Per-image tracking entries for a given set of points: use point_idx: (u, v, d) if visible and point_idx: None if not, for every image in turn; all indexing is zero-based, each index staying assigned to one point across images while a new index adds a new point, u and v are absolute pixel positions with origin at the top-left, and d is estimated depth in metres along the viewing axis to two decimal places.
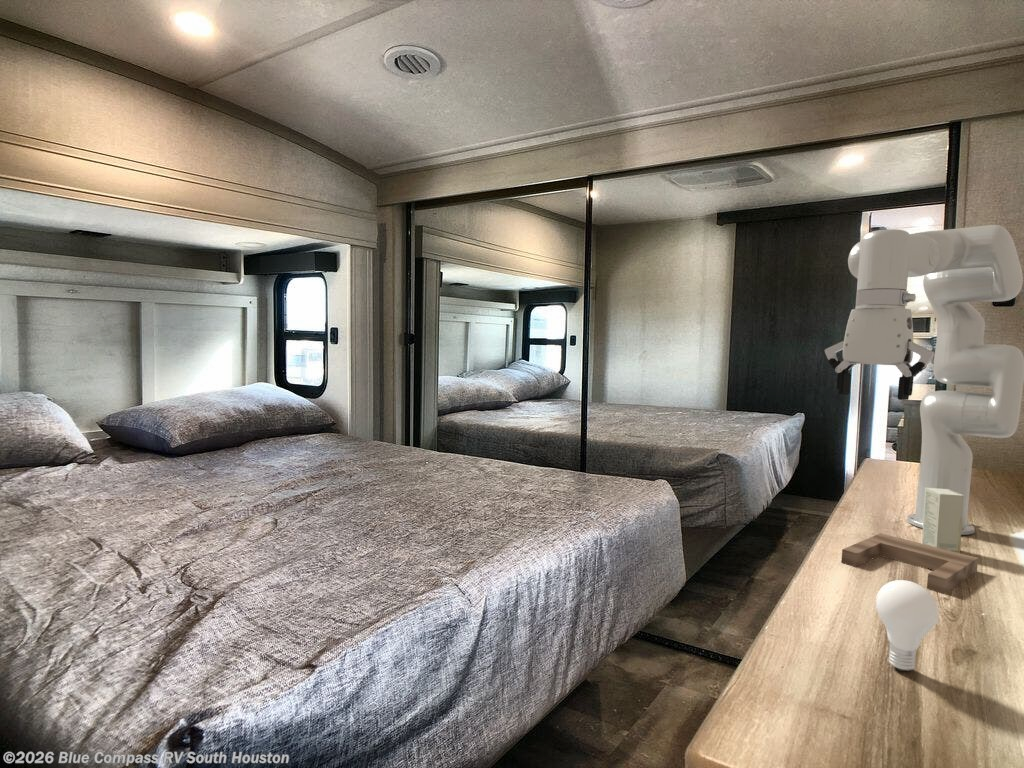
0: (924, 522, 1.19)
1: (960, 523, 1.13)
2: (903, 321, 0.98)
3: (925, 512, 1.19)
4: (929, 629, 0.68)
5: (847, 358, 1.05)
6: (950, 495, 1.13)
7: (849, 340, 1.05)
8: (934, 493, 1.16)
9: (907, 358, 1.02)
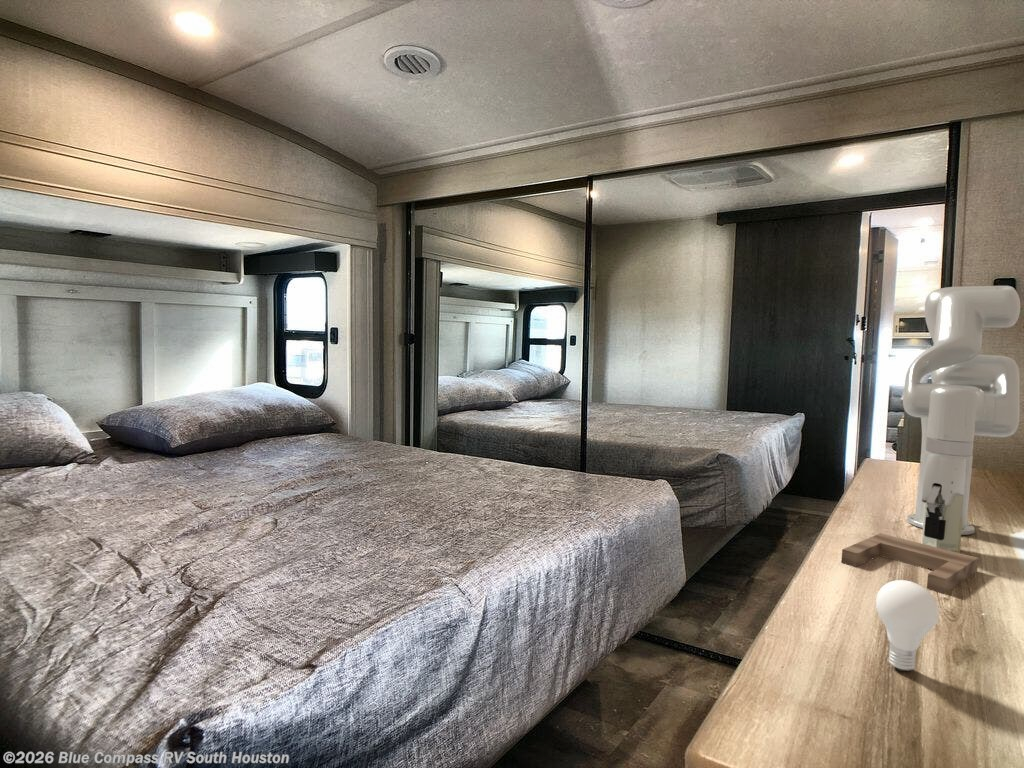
0: (924, 522, 1.19)
1: (960, 523, 1.13)
2: None
3: (925, 512, 1.19)
4: (929, 629, 0.68)
5: (949, 504, 1.12)
6: None
7: (952, 487, 1.12)
8: None
9: None
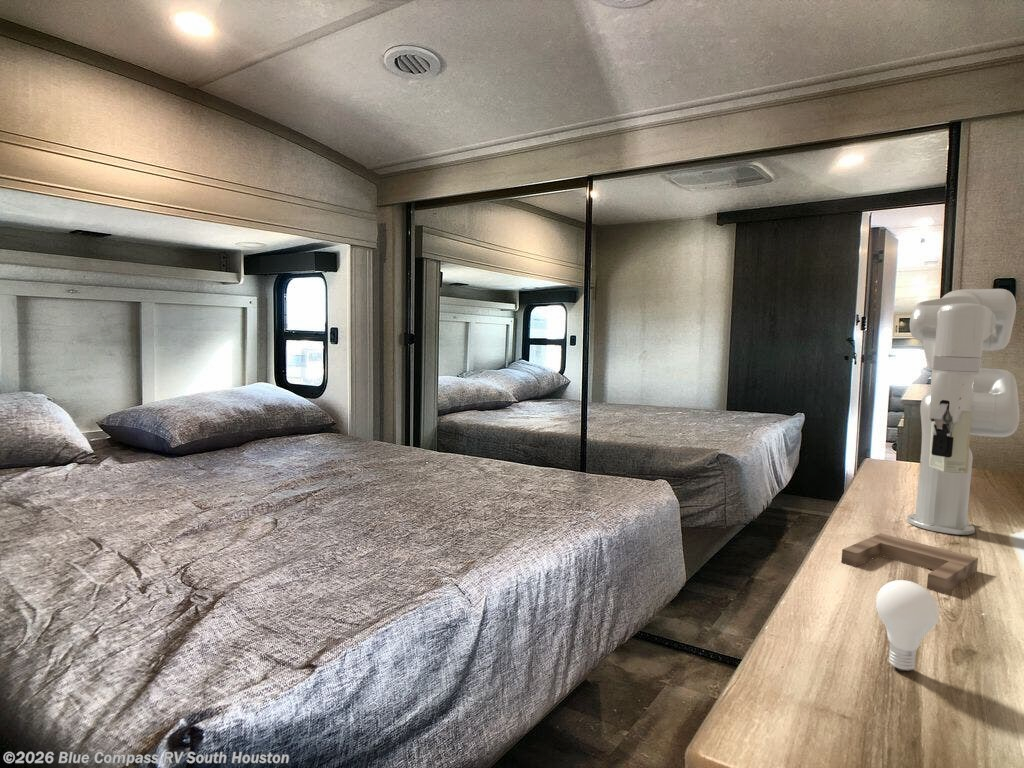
0: (931, 443, 1.18)
1: (968, 440, 1.12)
2: None
3: (932, 433, 1.18)
4: (929, 629, 0.68)
5: (957, 420, 1.11)
6: None
7: (960, 403, 1.11)
8: None
9: None
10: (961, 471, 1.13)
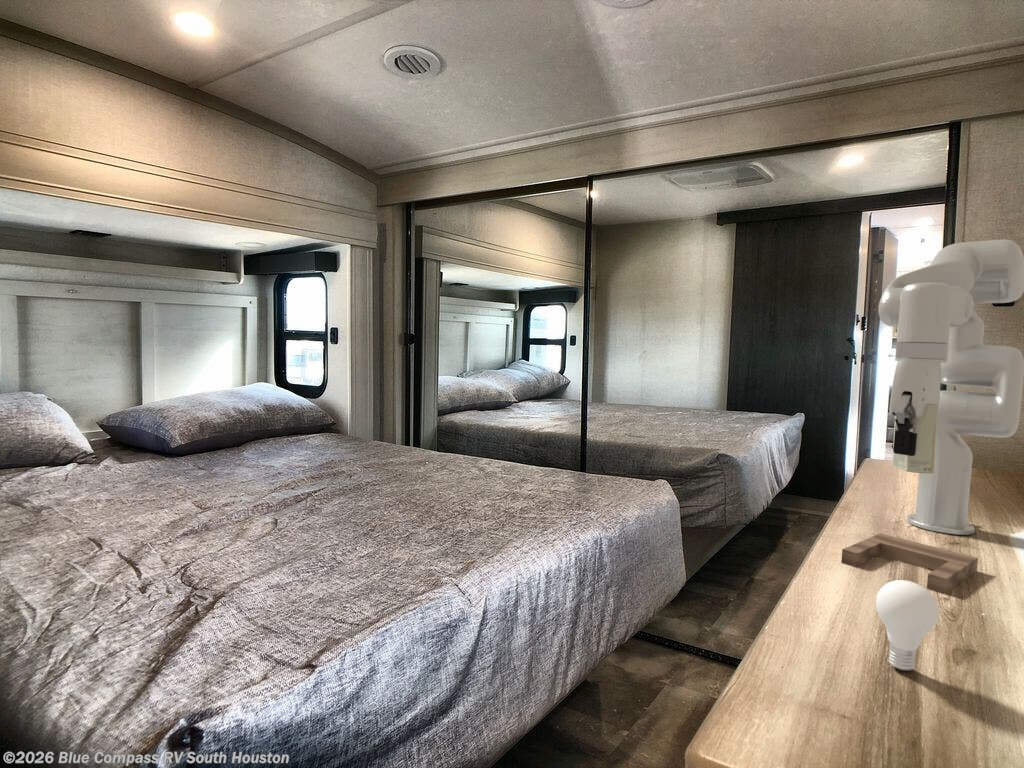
0: None
1: (934, 436, 0.99)
2: None
3: None
4: (929, 629, 0.68)
5: (921, 414, 0.98)
6: None
7: (924, 395, 0.98)
8: None
9: None
10: (926, 471, 1.00)
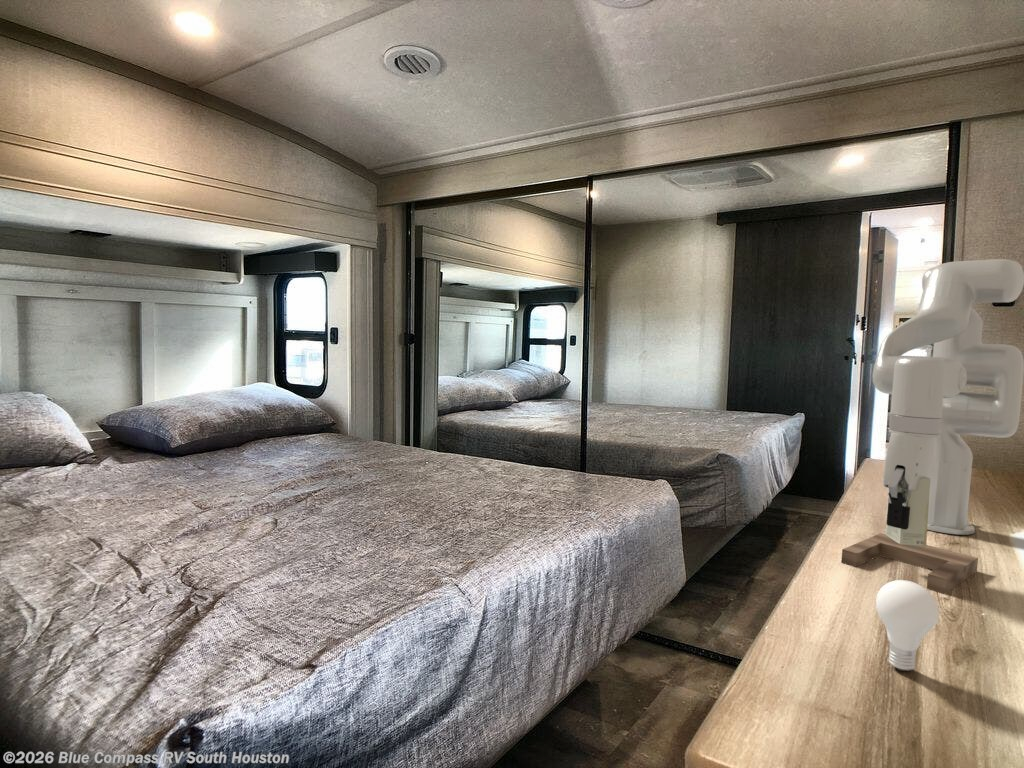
0: None
1: (926, 510, 1.00)
2: None
3: None
4: (929, 629, 0.68)
5: (914, 488, 0.99)
6: None
7: (917, 469, 0.99)
8: None
9: None
10: (919, 544, 1.00)
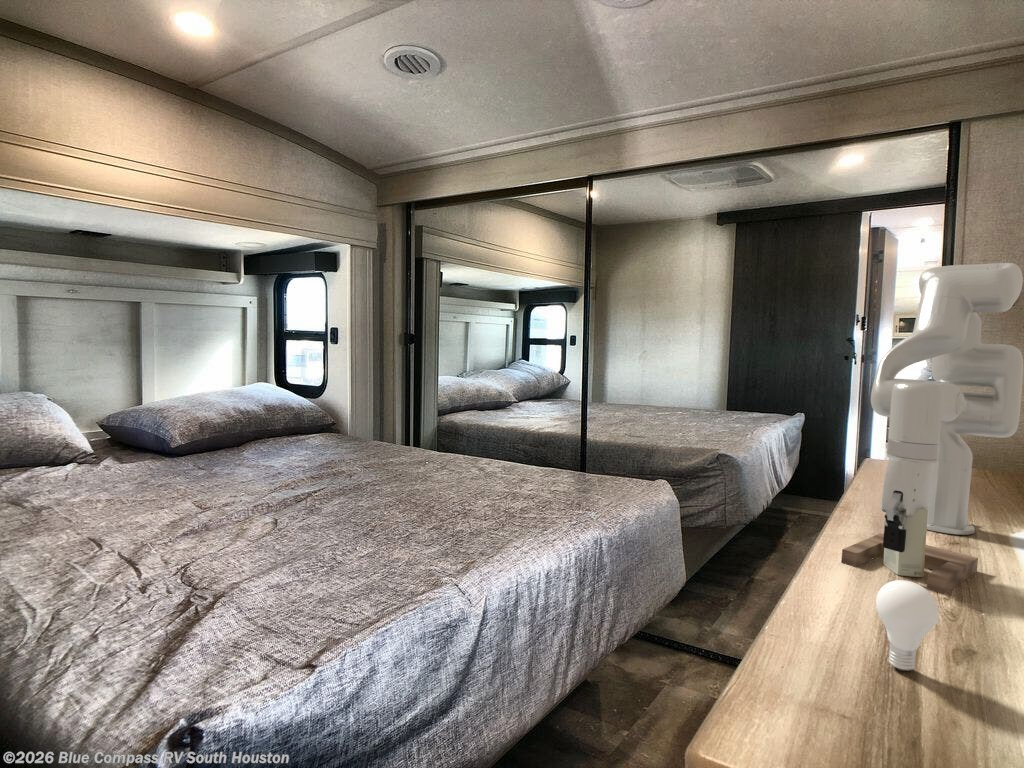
0: None
1: (924, 541, 1.01)
2: None
3: None
4: (929, 629, 0.68)
5: (912, 514, 0.99)
6: None
7: (915, 495, 0.99)
8: None
9: None
10: (917, 575, 1.01)
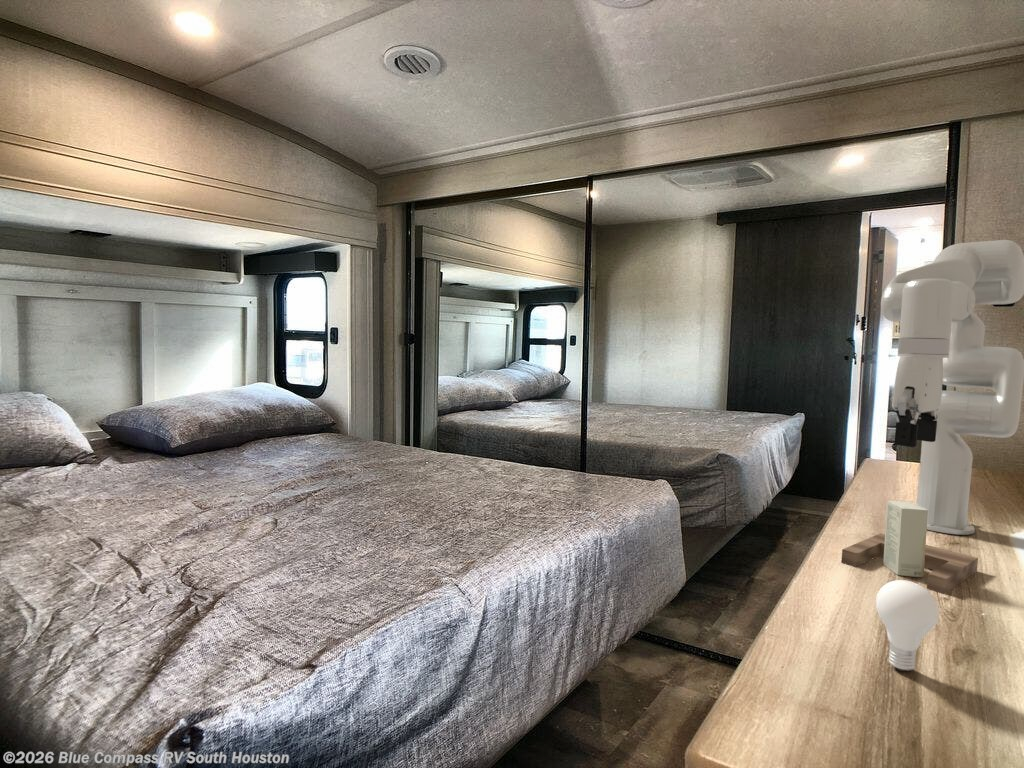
0: (886, 539, 1.07)
1: (924, 541, 1.01)
2: None
3: (887, 528, 1.06)
4: (929, 629, 0.68)
5: (923, 408, 1.00)
6: (913, 510, 1.01)
7: (927, 390, 1.00)
8: (896, 507, 1.03)
9: None
10: (917, 575, 1.01)
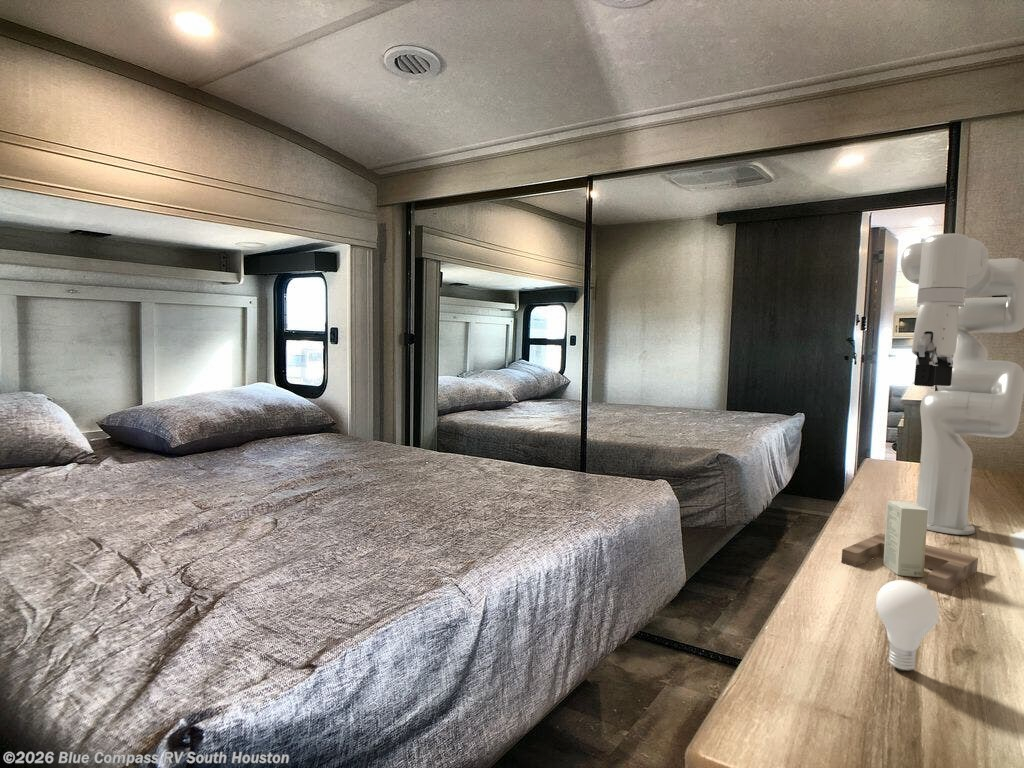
0: (886, 539, 1.07)
1: (924, 541, 1.01)
2: None
3: (887, 528, 1.06)
4: (929, 629, 0.68)
5: (941, 351, 1.10)
6: (913, 510, 1.01)
7: (944, 334, 1.09)
8: (896, 507, 1.03)
9: None
10: (917, 575, 1.01)
